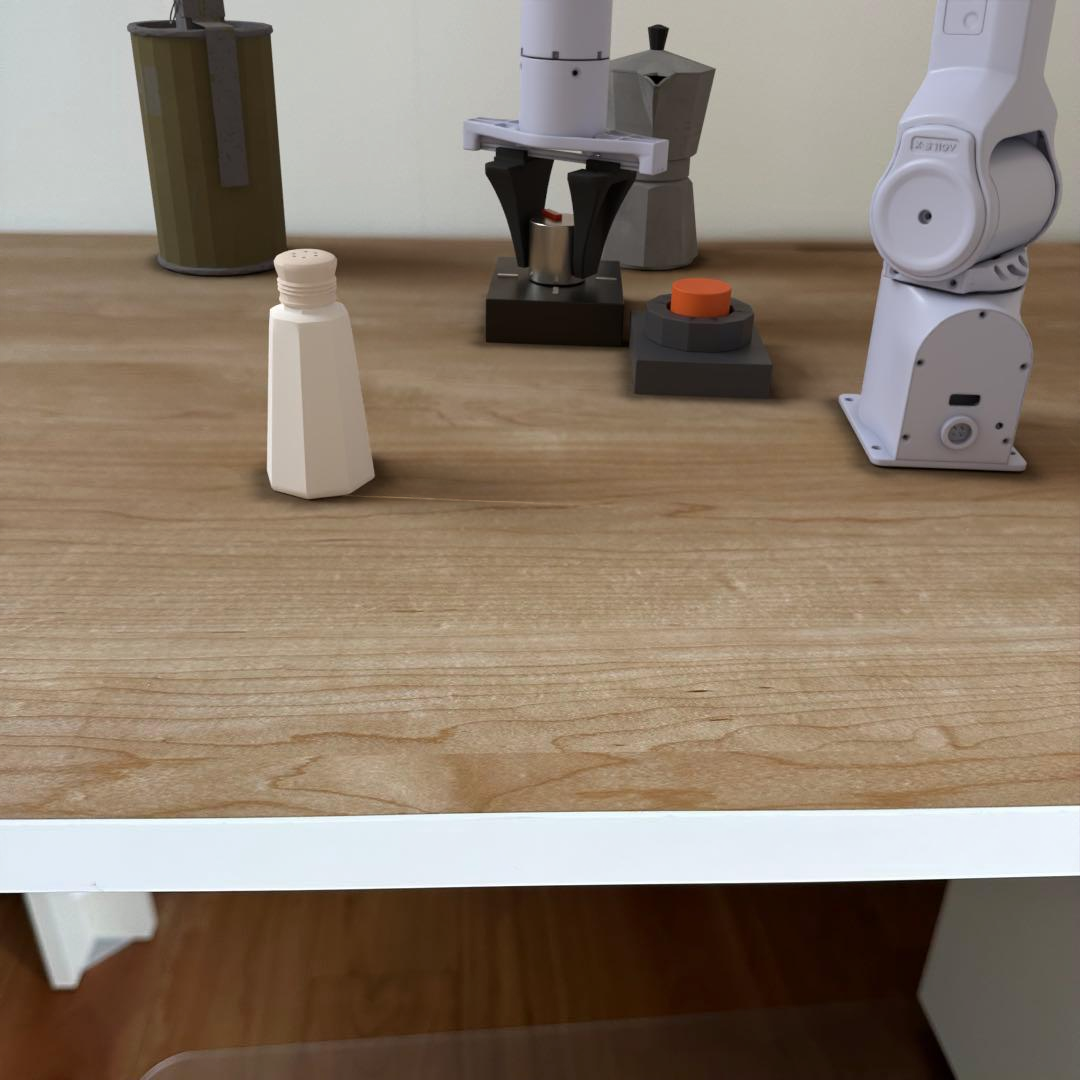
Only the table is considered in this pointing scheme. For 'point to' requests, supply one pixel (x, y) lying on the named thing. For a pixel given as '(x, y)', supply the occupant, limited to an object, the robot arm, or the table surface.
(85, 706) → the table surface
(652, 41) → the coffeepot
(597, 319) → the dial panel
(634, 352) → the switch block
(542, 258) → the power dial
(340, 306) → the pepper shaker
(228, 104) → the canister
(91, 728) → the table surface
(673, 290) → the power button
